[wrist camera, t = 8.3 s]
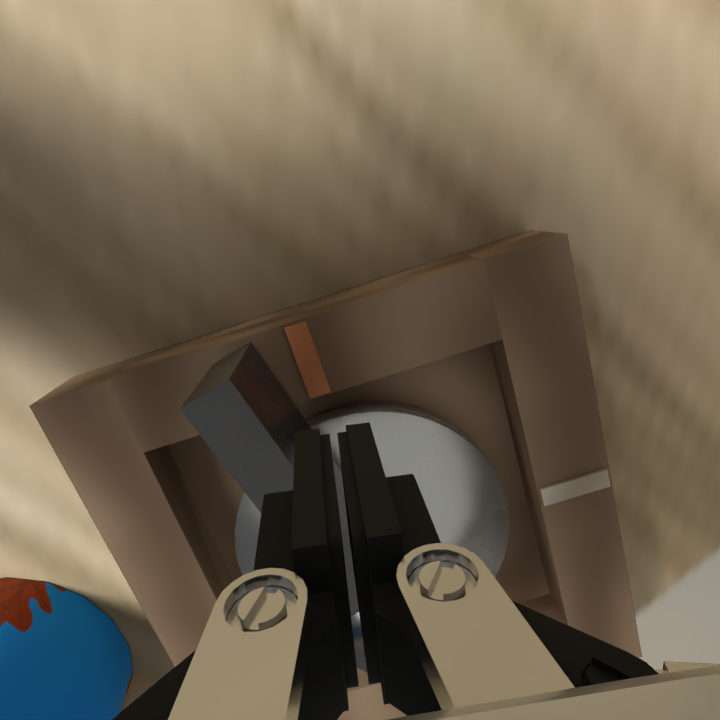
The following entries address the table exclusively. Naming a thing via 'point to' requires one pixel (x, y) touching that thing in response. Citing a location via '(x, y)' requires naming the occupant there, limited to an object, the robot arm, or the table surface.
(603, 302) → the table surface
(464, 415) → the wooden frame
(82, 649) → the thermos
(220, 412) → the dial
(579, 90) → the table surface
